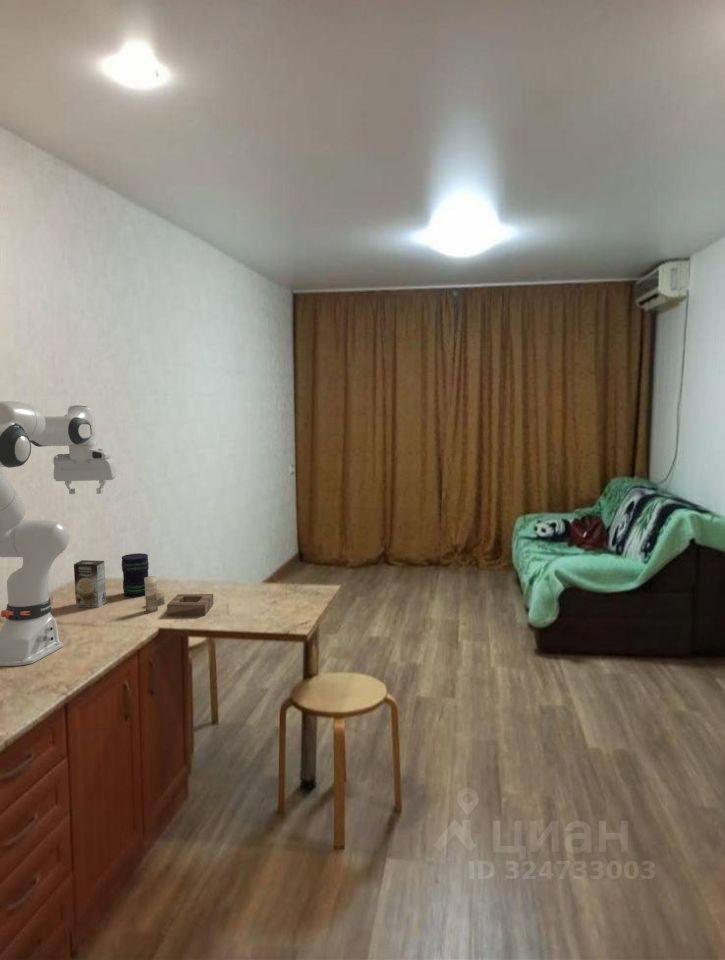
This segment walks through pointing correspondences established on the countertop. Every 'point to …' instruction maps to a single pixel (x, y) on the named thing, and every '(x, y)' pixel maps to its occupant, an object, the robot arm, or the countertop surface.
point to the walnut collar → (190, 605)
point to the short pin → (160, 597)
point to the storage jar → (134, 574)
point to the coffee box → (90, 583)
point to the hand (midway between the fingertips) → (86, 493)
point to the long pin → (151, 594)
